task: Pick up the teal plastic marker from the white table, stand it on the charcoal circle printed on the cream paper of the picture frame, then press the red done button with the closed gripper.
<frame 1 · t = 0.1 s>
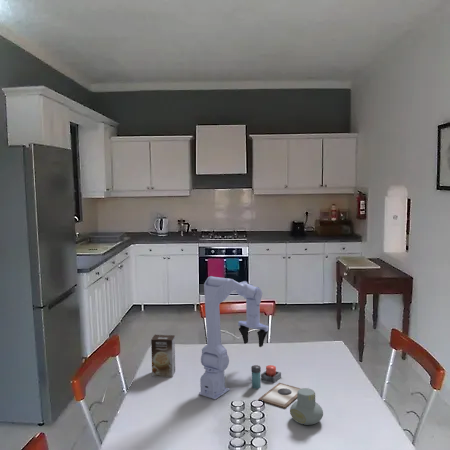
hand: (253, 344, 190), 10 cm above the table, tool pointing down, fingers open, 7 cm apart
button collar: (271, 378, 180), on the table
marker: (256, 386, 172), on the table
done button: (270, 371, 180), point 3 cm above the table, slide at 0.0 cm
air freshener: (306, 421, 147), on the table
coffee box: (163, 374, 186), on the table
picture frame: (282, 395, 165), on the table
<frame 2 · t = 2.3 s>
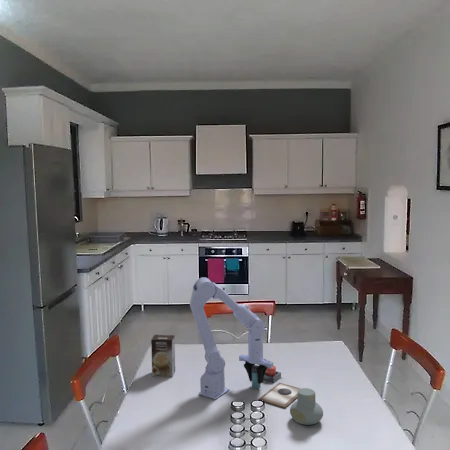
hand: (256, 381, 172), 2 cm above the table, tool pointing down, fingers closed on marker, 3 cm apart
marker: (256, 386, 172), on the table, touching gripper
everything else where it was.
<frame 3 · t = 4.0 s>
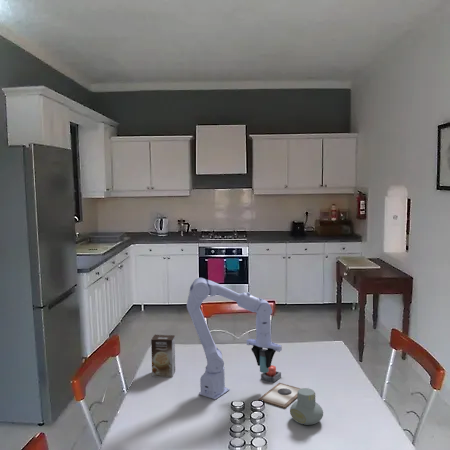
hand: (264, 365, 170), 9 cm above the table, tool pointing down, fingers closed on marker, 3 cm apart
marker: (264, 370, 170), point 7 cm above the table, touching gripper
everything else where it was.
when the fingers open (4 cm above the table, at t = 6.0 s): marker drops 1 cm, resting on picture frame.
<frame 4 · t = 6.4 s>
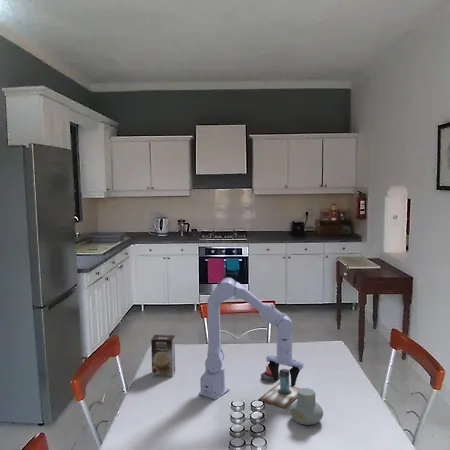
hand: (284, 383, 166), 4 cm above the table, tool pointing down, fingers open, 7 cm apart
marker: (284, 391, 166), point 1 cm above the table, touching picture frame
everything else where it was.
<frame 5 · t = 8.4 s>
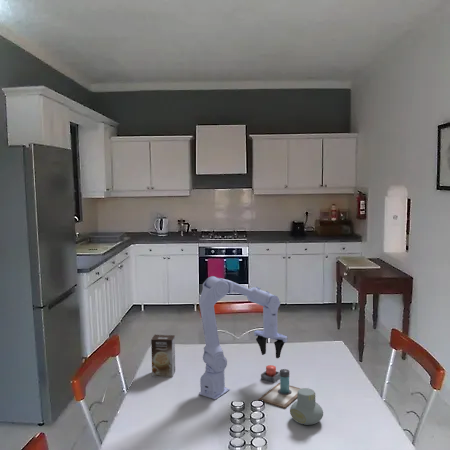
hand: (270, 355, 179), 9 cm above the table, tool pointing down, fingers open, 6 cm apart
nothing on the table moved.
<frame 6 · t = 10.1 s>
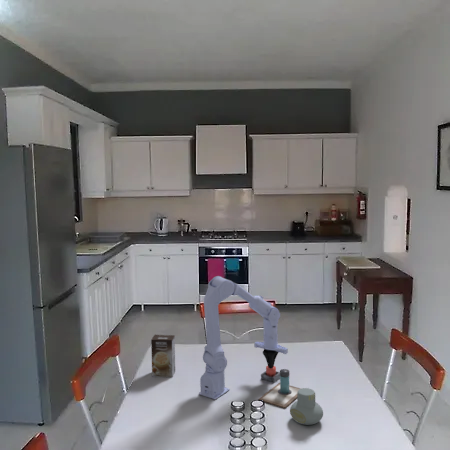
hand: (271, 367, 180), 5 cm above the table, tool pointing down, fingers closed, pressing on done button
done button: (270, 371, 180), point 3 cm above the table, slide at 0.0 cm, touching gripper
everything else where it was.
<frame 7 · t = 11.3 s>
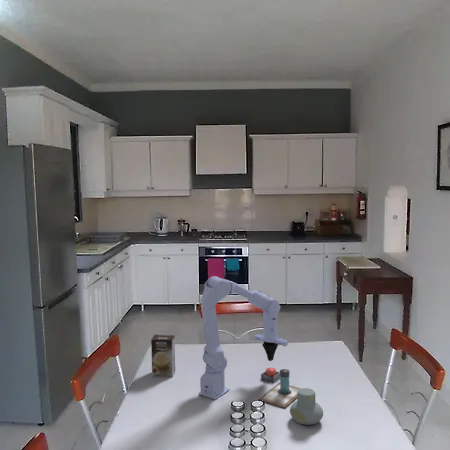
hand: (270, 360, 179), 8 cm above the table, tool pointing down, fingers closed
done button: (271, 373, 180), point 2 cm above the table, slide at 1.0 cm
everything else where it was.
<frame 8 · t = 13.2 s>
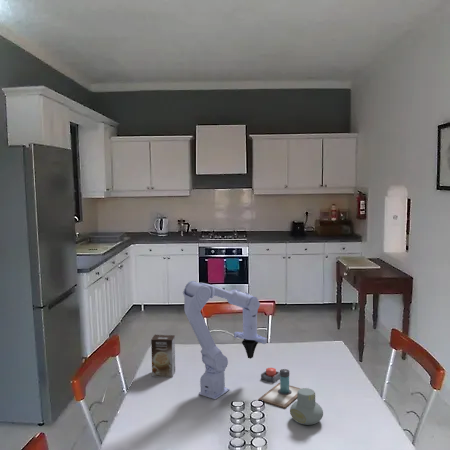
hand: (250, 357, 178), 9 cm above the table, tool pointing down, fingers closed
nothing on the table moved.
at the end: marker 0.1 cm from the target spot on the picture frame, point 0.8 cm above the picture frame's base; marker tilted 0°; done button slide at 1.0 cm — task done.
